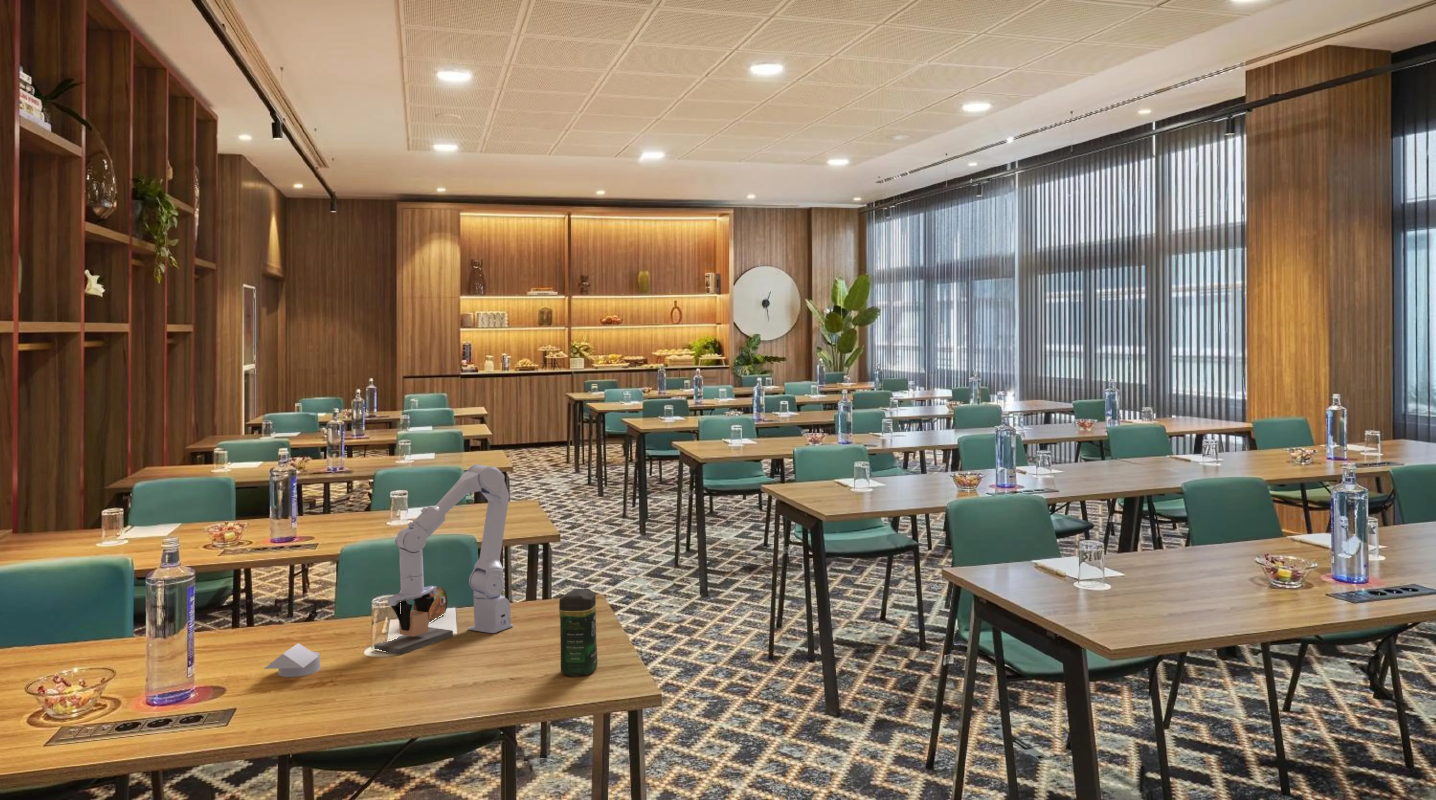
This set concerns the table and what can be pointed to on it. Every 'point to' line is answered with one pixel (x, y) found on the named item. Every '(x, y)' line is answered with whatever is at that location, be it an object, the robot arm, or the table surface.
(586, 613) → the coffee jar
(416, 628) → the cube
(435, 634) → the charcoal board
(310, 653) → the wedge on round base
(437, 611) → the tin
